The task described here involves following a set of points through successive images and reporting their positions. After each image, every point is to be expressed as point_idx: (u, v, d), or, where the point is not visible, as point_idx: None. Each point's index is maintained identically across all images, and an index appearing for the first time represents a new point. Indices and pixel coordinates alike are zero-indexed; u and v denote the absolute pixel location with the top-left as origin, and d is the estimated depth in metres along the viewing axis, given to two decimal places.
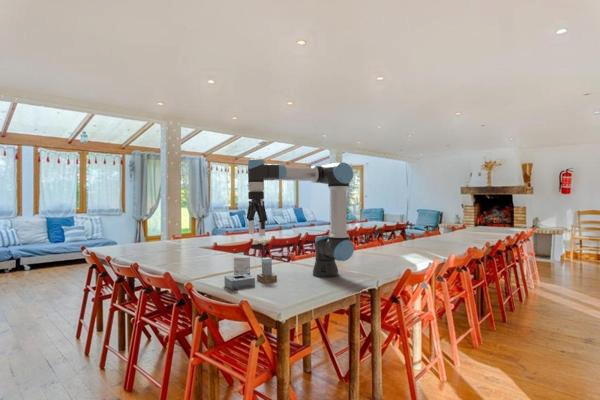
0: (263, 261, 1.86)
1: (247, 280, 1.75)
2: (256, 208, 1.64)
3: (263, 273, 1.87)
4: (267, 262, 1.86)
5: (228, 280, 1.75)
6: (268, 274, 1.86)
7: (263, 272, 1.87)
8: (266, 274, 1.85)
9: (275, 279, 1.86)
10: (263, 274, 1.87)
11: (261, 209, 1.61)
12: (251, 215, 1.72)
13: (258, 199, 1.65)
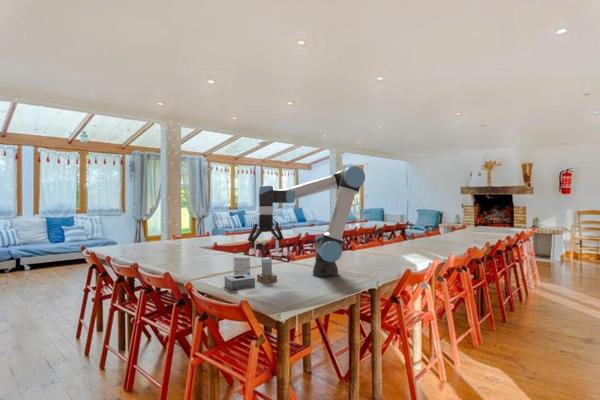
0: (263, 261, 1.86)
1: (247, 280, 1.75)
2: (258, 229, 1.87)
3: (263, 273, 1.87)
4: (267, 262, 1.86)
5: (228, 280, 1.75)
6: (268, 274, 1.86)
7: (263, 272, 1.87)
8: (266, 274, 1.85)
9: (275, 279, 1.86)
10: (263, 274, 1.87)
11: (252, 230, 1.84)
12: (274, 235, 1.91)
13: (259, 221, 1.86)
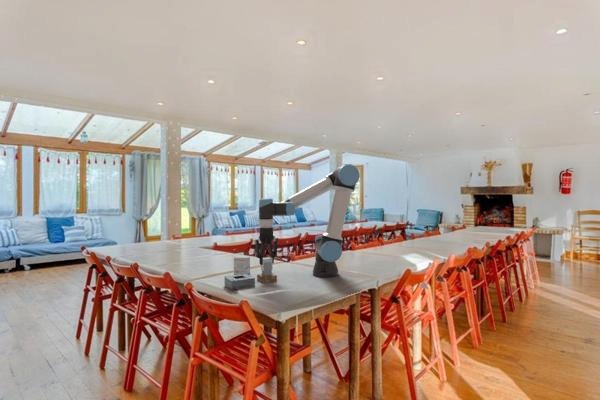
0: None
1: (247, 280, 1.75)
2: (261, 244, 1.88)
3: (263, 273, 1.87)
4: (267, 262, 1.86)
5: (228, 280, 1.75)
6: (268, 274, 1.86)
7: (263, 272, 1.87)
8: (266, 274, 1.85)
9: (275, 279, 1.86)
10: (263, 274, 1.87)
11: (256, 247, 1.85)
12: (269, 250, 1.89)
13: None
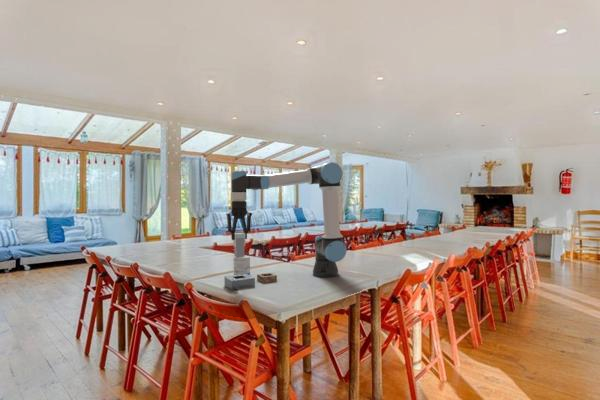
0: None
1: (247, 280, 1.75)
2: None
3: (235, 249, 1.78)
4: (240, 237, 1.77)
5: (228, 280, 1.75)
6: (240, 250, 1.77)
7: (235, 248, 1.78)
8: (238, 250, 1.77)
9: (275, 279, 1.86)
10: (235, 250, 1.78)
11: (227, 221, 1.76)
12: (242, 226, 1.80)
13: None
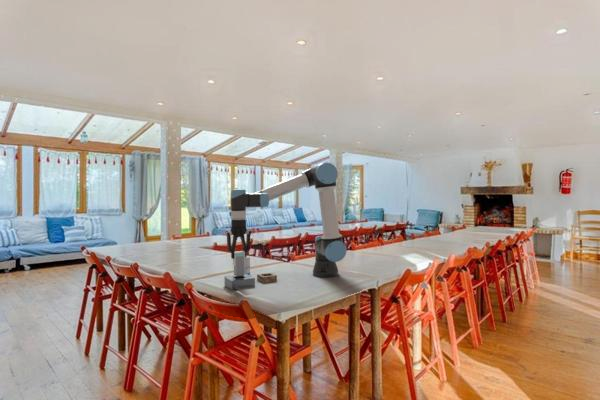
0: None
1: (247, 280, 1.75)
2: (233, 237, 1.79)
3: (235, 267, 1.78)
4: (239, 256, 1.77)
5: (228, 280, 1.75)
6: (240, 269, 1.77)
7: (235, 266, 1.78)
8: (238, 268, 1.76)
9: (275, 279, 1.86)
10: (235, 268, 1.78)
11: (227, 240, 1.76)
12: (242, 244, 1.80)
13: None
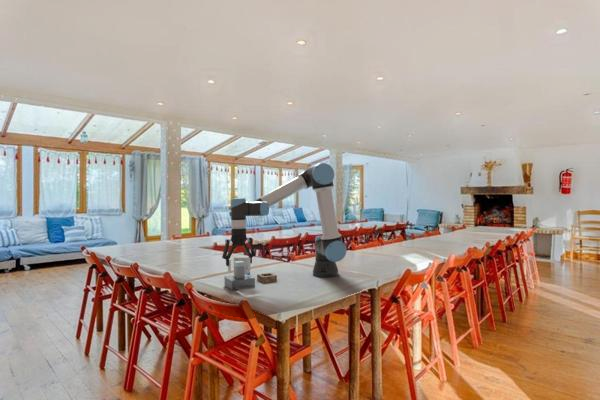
0: (235, 265, 1.77)
1: (247, 280, 1.75)
2: (231, 245, 1.78)
3: (235, 277, 1.78)
4: (240, 266, 1.77)
5: (228, 280, 1.75)
6: None
7: (235, 276, 1.78)
8: (238, 278, 1.77)
9: (275, 279, 1.86)
10: (235, 278, 1.78)
11: (225, 247, 1.76)
12: (246, 251, 1.81)
13: (231, 236, 1.77)
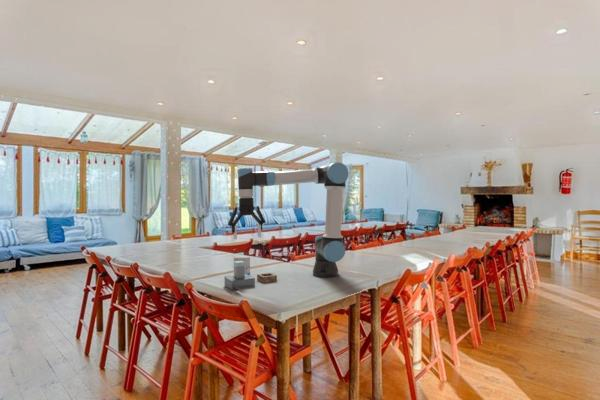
0: (235, 265, 1.77)
1: (247, 280, 1.75)
2: (239, 213, 1.81)
3: (235, 277, 1.78)
4: (240, 266, 1.77)
5: (228, 280, 1.75)
6: None
7: (235, 276, 1.78)
8: (238, 278, 1.77)
9: (275, 279, 1.86)
10: (235, 278, 1.78)
11: (232, 214, 1.78)
12: (255, 219, 1.85)
13: (239, 205, 1.80)
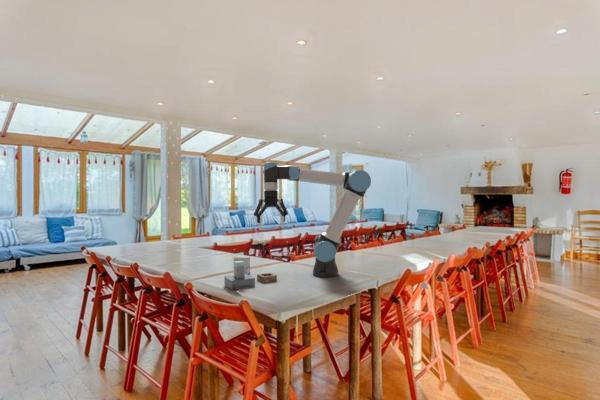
0: (235, 265, 1.77)
1: (247, 280, 1.75)
2: (264, 205, 1.93)
3: (235, 277, 1.78)
4: (240, 266, 1.77)
5: (228, 280, 1.75)
6: None
7: (235, 276, 1.78)
8: (238, 278, 1.77)
9: (275, 279, 1.86)
10: (235, 278, 1.78)
11: (257, 206, 1.90)
12: (279, 211, 1.96)
13: (264, 197, 1.92)
